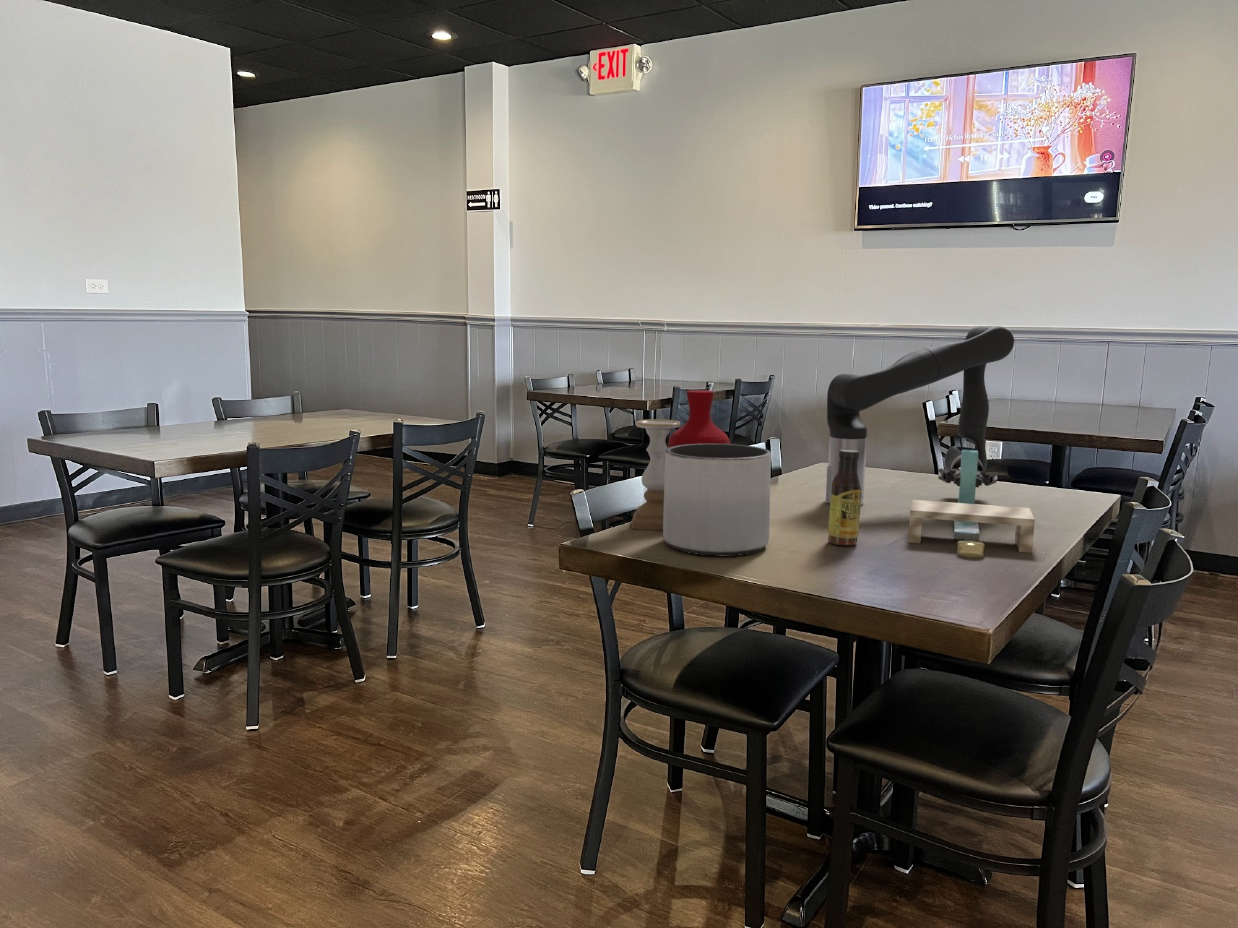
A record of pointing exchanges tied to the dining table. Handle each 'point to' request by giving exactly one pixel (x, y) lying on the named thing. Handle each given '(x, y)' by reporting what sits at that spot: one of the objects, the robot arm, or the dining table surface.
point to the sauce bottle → (845, 501)
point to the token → (970, 549)
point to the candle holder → (654, 475)
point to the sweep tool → (967, 495)
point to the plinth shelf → (974, 518)
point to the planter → (717, 498)
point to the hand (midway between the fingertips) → (968, 482)
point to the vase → (699, 422)
